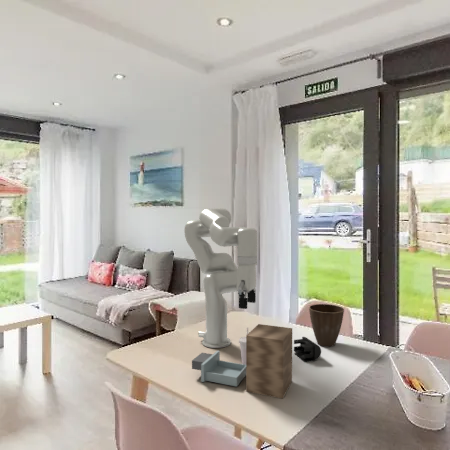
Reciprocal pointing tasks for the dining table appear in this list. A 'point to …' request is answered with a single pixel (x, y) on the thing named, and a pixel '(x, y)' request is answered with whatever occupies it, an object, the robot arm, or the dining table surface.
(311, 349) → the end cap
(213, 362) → the tray
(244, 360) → the smoothie
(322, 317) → the plant pot
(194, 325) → the dining table surface
